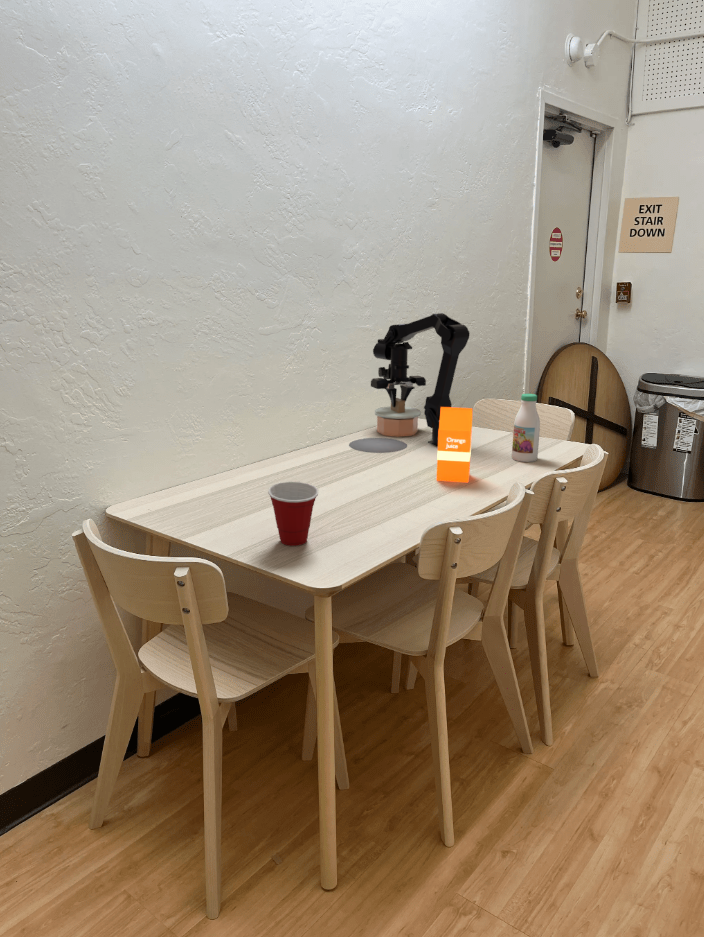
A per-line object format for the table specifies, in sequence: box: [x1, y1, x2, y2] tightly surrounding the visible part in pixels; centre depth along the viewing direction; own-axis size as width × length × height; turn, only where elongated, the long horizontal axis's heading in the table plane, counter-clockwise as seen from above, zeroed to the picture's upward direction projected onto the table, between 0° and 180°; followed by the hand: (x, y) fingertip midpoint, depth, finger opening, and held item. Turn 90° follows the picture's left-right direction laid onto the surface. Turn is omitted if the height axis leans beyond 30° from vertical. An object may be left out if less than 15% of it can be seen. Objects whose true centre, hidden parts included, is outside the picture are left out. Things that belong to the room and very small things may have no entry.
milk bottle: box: [511, 393, 541, 463], centre depth 215 cm, size 8×8×20 cm
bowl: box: [376, 415, 419, 438], centre depth 249 cm, size 13×13×6 cm
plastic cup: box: [267, 481, 319, 547], centre depth 153 cm, size 11×11×12 cm
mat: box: [348, 437, 408, 454], centre depth 232 cm, size 19×19×1 cm
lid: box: [374, 397, 422, 419], centre depth 247 cm, size 16×16×5 cm
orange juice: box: [436, 406, 473, 483], centre depth 197 cm, size 8×9×20 cm
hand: (397, 406), depth 247 cm, fingers open, 3 cm apart
